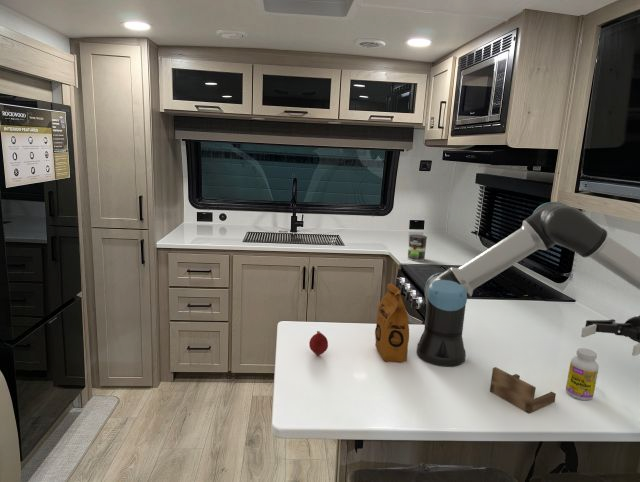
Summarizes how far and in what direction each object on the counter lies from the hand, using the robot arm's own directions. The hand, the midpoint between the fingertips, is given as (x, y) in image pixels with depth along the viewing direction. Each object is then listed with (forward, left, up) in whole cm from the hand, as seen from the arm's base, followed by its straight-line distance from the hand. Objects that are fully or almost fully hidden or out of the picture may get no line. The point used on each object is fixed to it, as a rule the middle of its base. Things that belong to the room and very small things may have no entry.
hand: (607, 341), depth 126 cm
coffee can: (-135, +58, -14) cm, 148 cm away
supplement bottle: (0, -10, -14) cm, 17 cm away
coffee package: (-43, -41, -14) cm, 61 cm away
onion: (-53, -62, -14) cm, 83 cm away
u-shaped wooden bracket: (-7, -25, -14) cm, 29 cm away
